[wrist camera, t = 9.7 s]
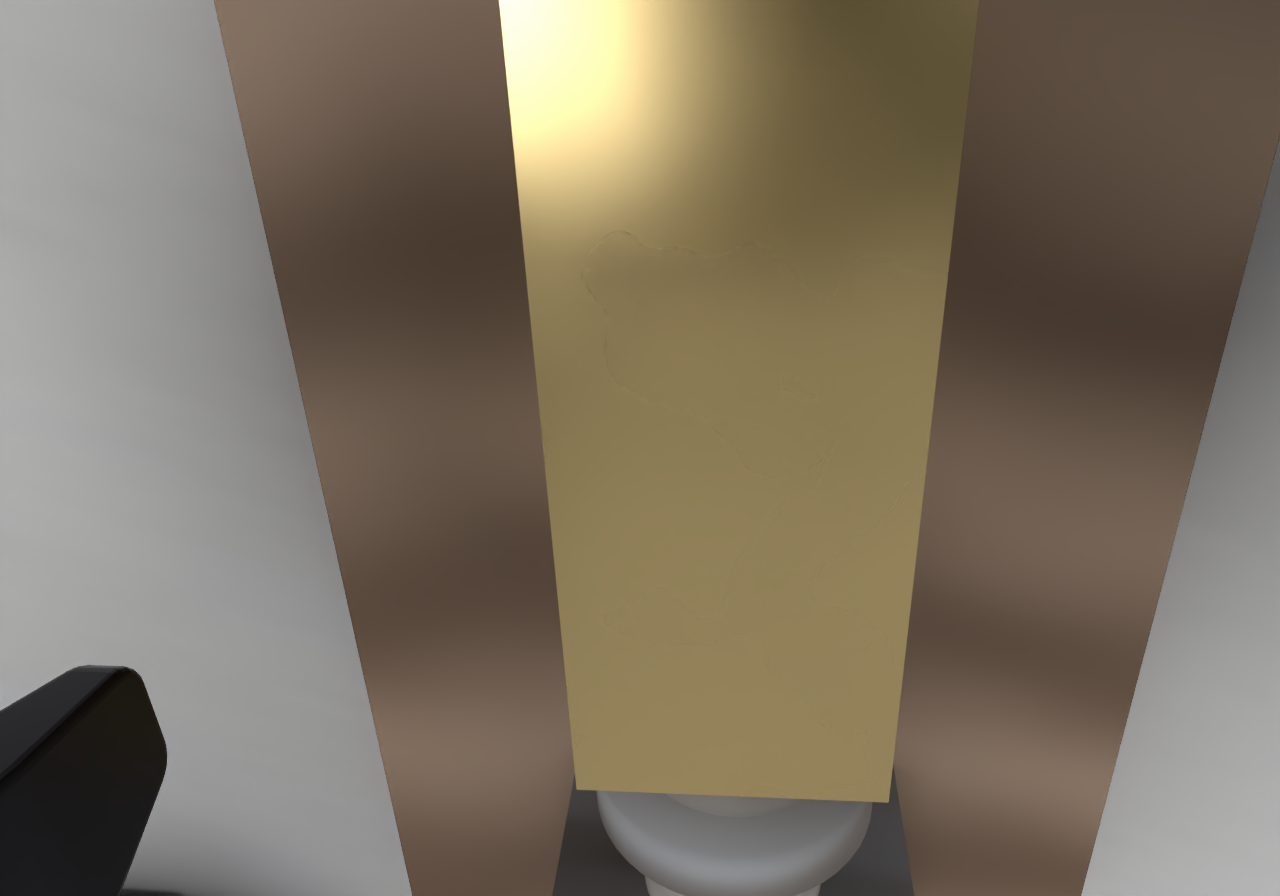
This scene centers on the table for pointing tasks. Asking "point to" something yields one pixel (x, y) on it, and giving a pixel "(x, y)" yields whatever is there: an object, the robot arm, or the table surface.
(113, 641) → the table surface
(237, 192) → the table surface
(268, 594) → the table surface
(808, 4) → the block
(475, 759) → the shaft mount
